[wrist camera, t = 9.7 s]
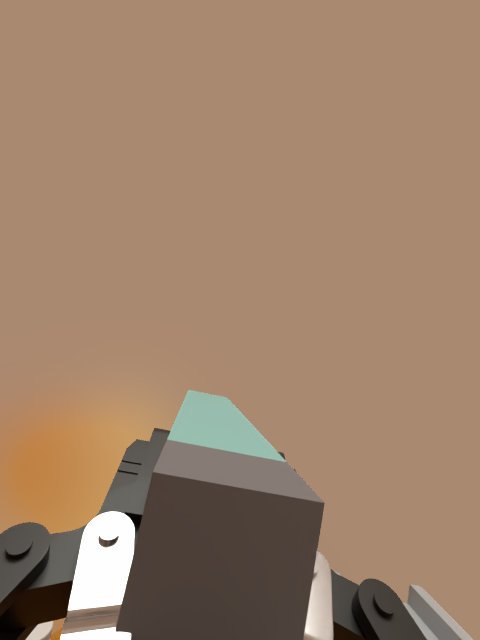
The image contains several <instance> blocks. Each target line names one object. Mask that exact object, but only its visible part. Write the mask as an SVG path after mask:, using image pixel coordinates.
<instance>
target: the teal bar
mask: <svg viewBox="0 0 480 640" xmlns="http://www.w3.org/2000/svg"><path fill="white" fill-rule="evenodd" d="M323 508H324V502H323V501H322V500H321V499H320V498H319V497H318V496H317V494H316V493H315V492H314V491H313V490H312V489H311V488H310V487H309V486H308V485H307V484H306V482H305V481H304V480H303V479H302V478H301V477H300V476H299V475H298V474H297V473H296V472H295V470H294V469H293V468H291V466H290V465H289V464H288V463H287V462H286V461H285V460H284V459H283V457H282V456H281V455H280V454H279V453H278V452H277V451H276V450H275V449H274V448H273V447H272V446H271V444H270V443H269V442H268V441H267V440H266V439H265V438H264V437H263V436H262V435H261V434H260V433H259V432H258V430H257V429H255V427H254V426H253V425H252V424H251V423H250V422H249V421H248V420H247V419H246V417H245V416H244V415H243V414H242V413H241V412H240V411H239V410H238V409H237V408H236V407H235V406H234V404H233V403H232V402H231V401H230V400H229V399H228V398H226V397H221V396H216V395H212V394H206V393H202V392H197V391H192V390H189V391H188V393H187V395H186V397H185V399H184V402H183V404H182V406H181V409H180V411H179V413H178V415H177V418H176V420H175V423H174V425H173V427H172V429H171V431H170V434H169V436H168V438H167V441H166V443H165V445H164V447H163V450H162V452H161V454H160V457H159V459H158V461H157V463H156V466H155V468H154V470H153V473H152V477H151V482H150V486H149V490H148V494H147V498H146V503H145V507H144V511H143V515H142V519H141V524H140V528H139V532H138V536H137V541H136V545H135V549H134V553H133V557H132V562H131V566H130V570H129V574H128V579H127V583H126V587H125V591H124V595H123V600H122V604H121V608H120V612H119V616H118V621H117V625H116V629H115V631H117V632H125V633H131V640H303V639H304V632H305V626H306V619H307V613H308V606H309V600H310V593H311V587H312V580H313V574H314V567H315V561H316V554H317V547H318V541H319V535H320V528H321V522H322V515H323Z"/></svg>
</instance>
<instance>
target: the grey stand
mask: <svg viewBox="0 0 480 640" xmlns="http://www.w3.org/2000/svg"><path fill="white" fill-rule="evenodd" d="M335 573H337V574H338V575H340V574H339V573H338V572H335ZM340 576H341V575H340ZM402 603H403V602H402ZM403 604H404V606H405V607H406V609H407V610H408V612H409V613H410V615H411V616H412V618H413V619H414V621H415V622H416V624H417V625H418V627H419V628H420V630H421V631H422V633H423V634H424V636H425V637H426V639H427V640H473V639H472V638H471V637H470V636H469V635H468V634H467V633H466V632H465V631H464V630H463V629H462V628H461V627H460V626H459V625H458V624H457V623H456V622H455V621H454V620H453V619H452V617H450V615H449V614H448V613H446V611H445V610H444V609H443V608H441V606H440V605H439V604H438V603H437V602H435V600H434V599H432V597H431V596H430V595H429V594H428V593H427V592H426V591H425V590H424V589H423V588H422V587H421V586H417V585H410V587H409V596H408V603H403Z"/></svg>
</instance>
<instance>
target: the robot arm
mask: <svg viewBox="0 0 480 640" xmlns="http://www.w3.org/2000/svg"><path fill="white" fill-rule="evenodd" d="M169 434H170V431H168V430H163V429H158V428H154V431H153V433H152V436H151V439H150V442H148V441H143V440H138V439H137V440H136V441H135V442H133V443H132V444H131V445H130V446H129V447H128V448H127V450H126V452H125V454H124V456H123V459H122V462H121V463H120V466H119V468H118V471H117V473H116V475H115V477H114V479H113V482H112V484H111V487H110V489H109V491H108V493H107V496H106V498H105V500H104V503H103V505H102V507H101V510H100V511H99V513H98V514H97V516H96V517H95V518H94V519H93V520H92V521H91V522H90V523H88V524H87V525H85V526H83V527H81V528H79V529H76V530H73V531H69V532H63V533H55V534H49V532H48V530H47V529H46V528H45V527H44V526H43V525H40V524H38V523H31V522H29V523H22V524H18V525H15V526H13V527H11V528H9V529H8V530H5V531H4V532H3V533H1V534H0V640H26V638H27V637H28V636H29V635H30V633H31V632H32V631H33V630H34V629H35V627H36V626H37V625H38V624H42V623H46V622H50V621H54V620H58V619H61V618H66V619H65V622H64V625H63V629H62V634H61V639H60V640H131V633H125V632H117V631H115V629H116V625H117V621H118V616H119V612H120V608H121V604H122V600H123V595H124V591H125V587H126V583H127V579H128V574H129V570H130V566H131V562H132V557H133V553H134V549H135V545H136V541H137V536H138V532H139V528H140V524H141V519H142V515H143V511H144V507H145V503H146V498H147V494H148V490H149V486H150V482H151V477H152V473H153V470H154V468H155V466H156V463H157V461H158V459H159V457H160V454H161V452H162V450H163V447H164V445H165V443H166V441H167V438H168V436H169ZM278 453H279V454H280V455H281V456H282V457H283V459H284V460H285V457H284V454H283V453H281V452H278ZM294 470H295V469H294ZM295 472H296V471H295ZM296 473H297V472H296ZM303 640H427V639H426V637H425V636H424V634H423V633H422V631H421V630H420V628H419V627H418V625H417V624H416V622H415V621H414V619H413V618H412V616H411V615H410V613H409V612H408V610H407V609H406V607H405V606H404V604H403V603H402V601H401V600H400V598H399V597H398V596H397V594H396V593H395V592H394V591H393V590H392V589H391V588H390V587H389V586H387V585H386V584H384V583H383V582H381V581H379V580H376V579H366V580H364V581H363V582H362V583H361V584H360V586H359V585H357V584H355V583H353V582H352V581H350V580H348V579H346V578H344V577H342V576H340V575H338V574H337V573H335V572H334V571H333V570H331V569H330V567H329V565H328V562H327V561H326V559H325V558H324V556H323V555H322V554H321V553H320V552H319V551H318V550H317V554H316V561H315V567H314V574H313V580H312V587H311V593H310V600H309V606H308V613H307V619H306V626H305V632H304V639H303Z"/></svg>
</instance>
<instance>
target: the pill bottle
mask: <svg viewBox="0 0 480 640" xmlns="http://www.w3.org/2000/svg"><path fill="white" fill-rule="evenodd" d="M52 627H53V621H50V622H46V623H42V624H38V625H37V626H36V627H35V629H34V630H33V631H32V632H31V633H30V635H29V636H28V637H27V638H26V640H50V637H51V632H52Z"/></svg>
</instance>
